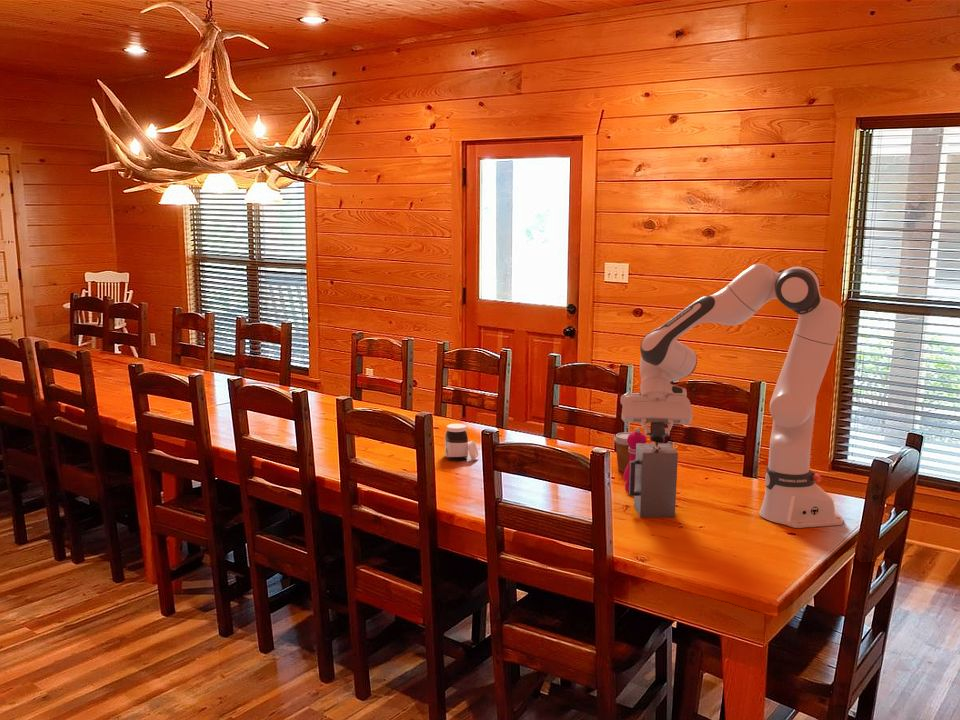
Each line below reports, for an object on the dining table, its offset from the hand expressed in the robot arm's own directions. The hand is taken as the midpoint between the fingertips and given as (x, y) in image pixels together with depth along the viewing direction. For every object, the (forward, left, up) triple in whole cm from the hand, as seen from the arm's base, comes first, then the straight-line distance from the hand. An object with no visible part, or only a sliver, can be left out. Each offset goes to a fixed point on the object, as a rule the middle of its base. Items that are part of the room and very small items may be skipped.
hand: (657, 434), depth 251 cm
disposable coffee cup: (+1, -41, -23) cm, 47 cm away
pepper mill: (+2, -21, -23) cm, 31 cm away
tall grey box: (+1, -1, -23) cm, 23 cm away
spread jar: (+57, -54, -24) cm, 82 cm away
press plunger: (0, -1, -14) cm, 14 cm away
